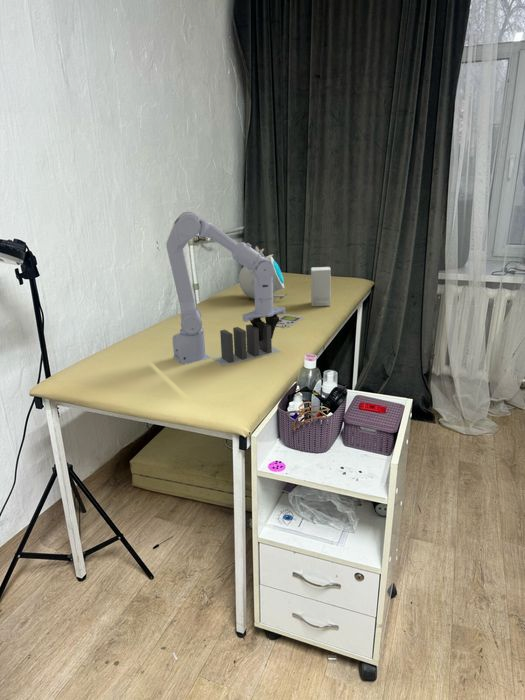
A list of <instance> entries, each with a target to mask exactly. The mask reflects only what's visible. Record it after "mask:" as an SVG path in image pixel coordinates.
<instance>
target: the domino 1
mask: <svg viewBox="0 0 525 700" xmlns="http://www.w3.org/2000/svg"><path fill="white" fill-rule="evenodd" d="M219 335H220V348H221V349H220V350H221V357H222V358H223V359H224V360H226V361H227V362H228V363H232V362H234V354H235V353H234V333H231V332H230V331H229V330H226V329H222V330H221V329H220V330H219Z"/></svg>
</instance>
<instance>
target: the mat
mask: <svg viewBox="0 0 525 700" xmlns="http://www.w3.org/2000/svg"><path fill="white" fill-rule="evenodd" d="M278 353H282V350H280V349H278V348H276V347H274V346H272V353H268V354H267V353H265V352H264V351H262V350H260V349H259V356H256V357H255V356H253V355H251V354H250V353H248V352H247V359H244V360H242V359H240V358H239V357H237V356H236V355H235V353H234V362H232V363H228V362H227V361H226V360H224V359H223V358H222V356H218V357H213V358H212V360H213V361H215V362H216V363H218V364H219V365H220V366H222V367H226V366H230V365H233V364H237V363H240V362H241V363H242V362H245V361H250V360H254V359H257V358H262V357H265V356H269V355H274V354H278Z"/></svg>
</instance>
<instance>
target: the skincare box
mask: <svg viewBox="0 0 525 700" xmlns="http://www.w3.org/2000/svg"><path fill="white" fill-rule="evenodd" d="M331 272H332V270H331V267H330V266H321V267H320V266H317V267H315V266H314V267H311V268H310V282H311V283H310V288H311V289H310V293H311V294H310V295H311V299H310V300H311V302H310V303H311V307H331V304H332V303H331V300H332V298H331V297H332V296H331V289H332V288H331V287H332V286H331V285H332V282H331V281H332V280H331V279H332V277H331V276H332V275H331V274H332V273H331Z"/></svg>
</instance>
